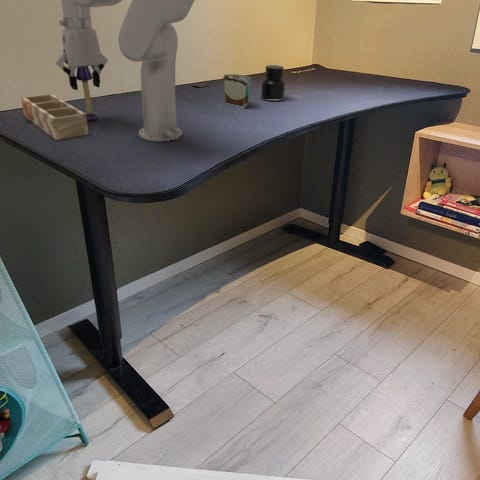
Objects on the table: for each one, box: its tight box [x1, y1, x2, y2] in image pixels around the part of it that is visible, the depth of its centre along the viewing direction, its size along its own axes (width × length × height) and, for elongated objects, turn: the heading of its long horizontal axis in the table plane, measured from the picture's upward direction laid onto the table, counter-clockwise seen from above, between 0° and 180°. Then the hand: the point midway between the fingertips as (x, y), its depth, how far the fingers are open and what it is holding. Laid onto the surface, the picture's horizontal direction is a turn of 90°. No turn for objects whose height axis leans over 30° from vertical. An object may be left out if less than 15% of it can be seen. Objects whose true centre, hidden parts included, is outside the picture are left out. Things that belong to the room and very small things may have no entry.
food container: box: [222, 73, 253, 107], centre depth 171 cm, size 12×6×10 cm, turn 47°
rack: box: [20, 93, 89, 141], centre depth 141 cm, size 26×10×6 cm, turn 40°
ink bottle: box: [260, 64, 286, 99], centre depth 180 cm, size 10×9×12 cm
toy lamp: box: [76, 66, 98, 123], centre depth 145 cm, size 5×5×17 cm
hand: (85, 87), depth 144 cm, fingers open, 6 cm apart
